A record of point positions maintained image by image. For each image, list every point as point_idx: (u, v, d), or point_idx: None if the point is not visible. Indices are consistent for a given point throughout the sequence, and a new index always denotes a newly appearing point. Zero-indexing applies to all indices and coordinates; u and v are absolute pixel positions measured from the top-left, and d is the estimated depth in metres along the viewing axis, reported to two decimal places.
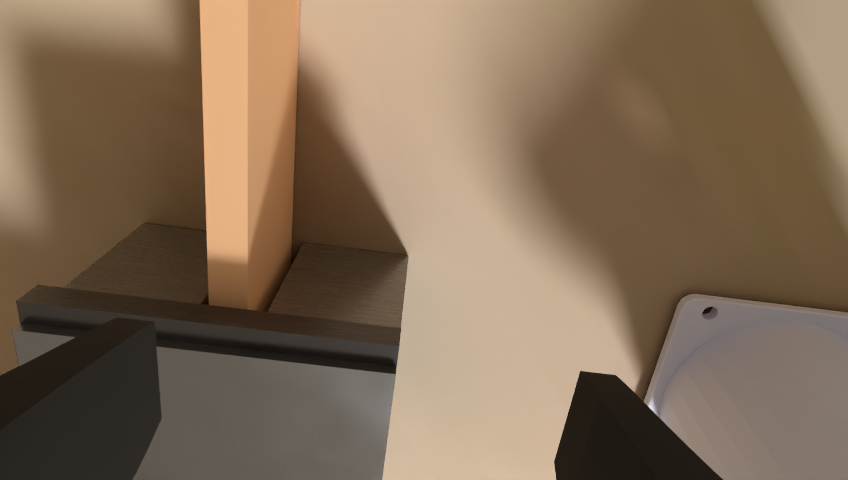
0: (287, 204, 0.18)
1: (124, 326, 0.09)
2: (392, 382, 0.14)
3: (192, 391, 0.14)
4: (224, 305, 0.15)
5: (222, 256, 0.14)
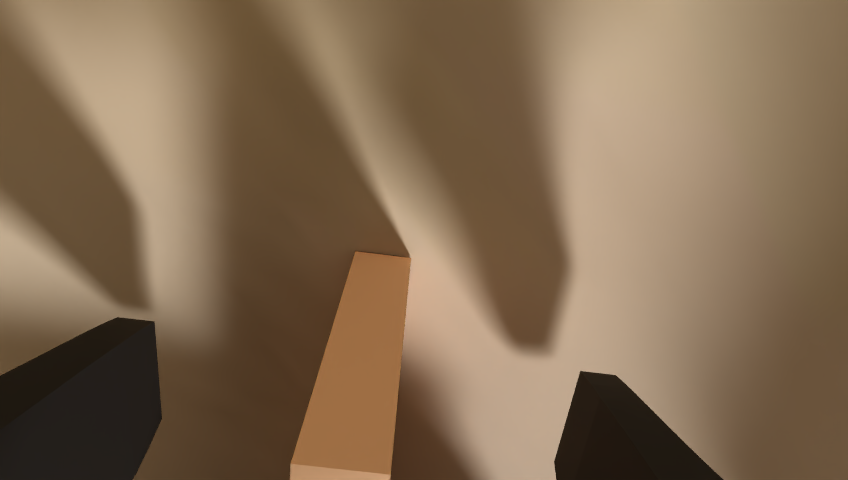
0: None
1: (124, 326, 0.09)
2: None
3: None
4: None
5: None
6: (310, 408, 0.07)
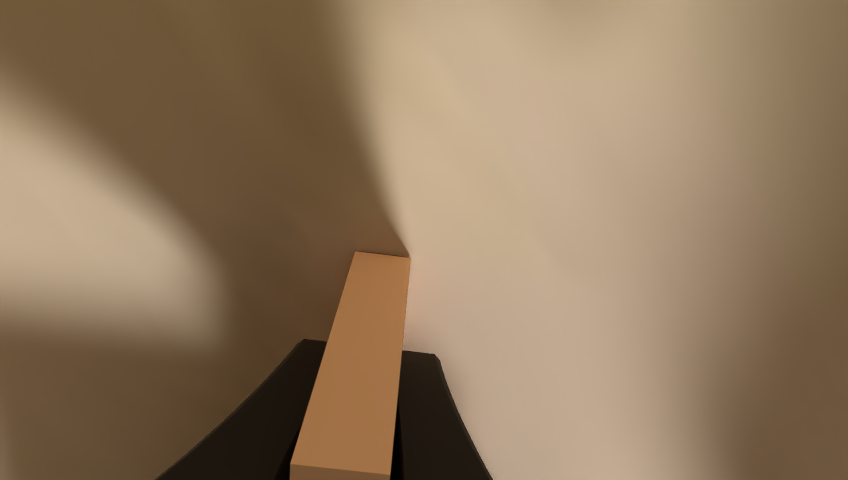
0: None
1: (318, 348, 0.09)
2: None
3: None
4: None
5: None
6: (310, 408, 0.07)
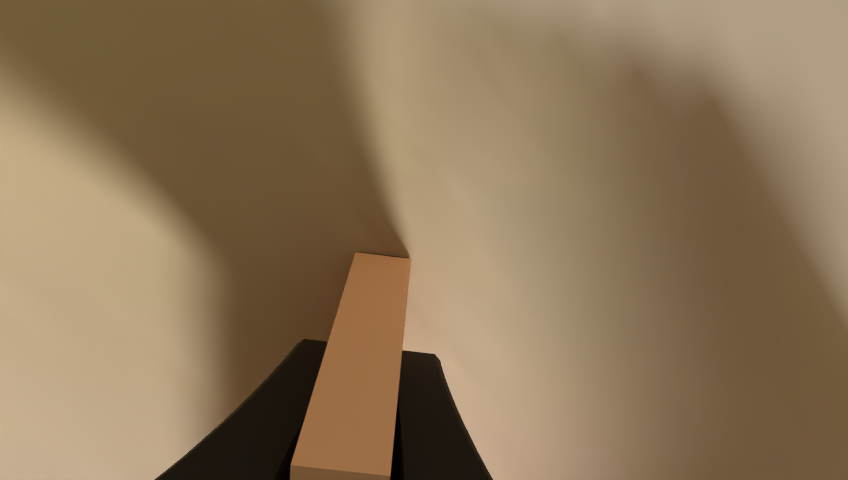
0: None
1: (318, 348, 0.09)
2: None
3: None
4: None
5: None
6: (310, 409, 0.07)
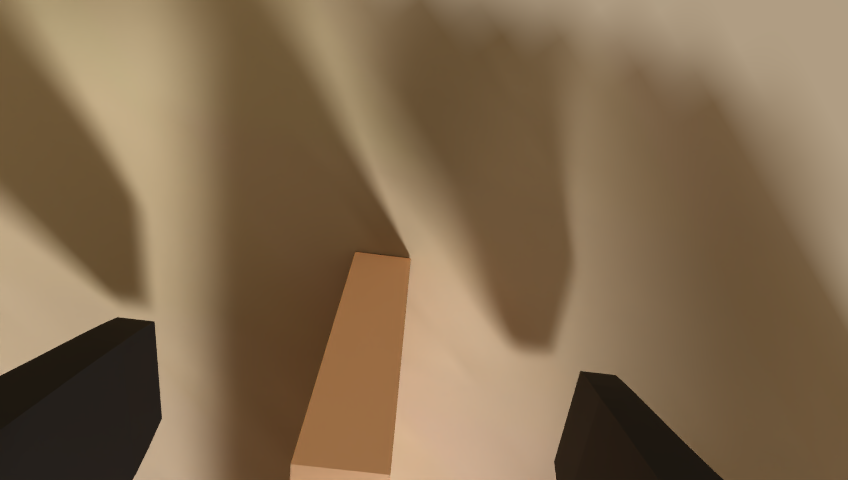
0: None
1: (124, 326, 0.09)
2: None
3: None
4: None
5: None
6: (310, 408, 0.07)
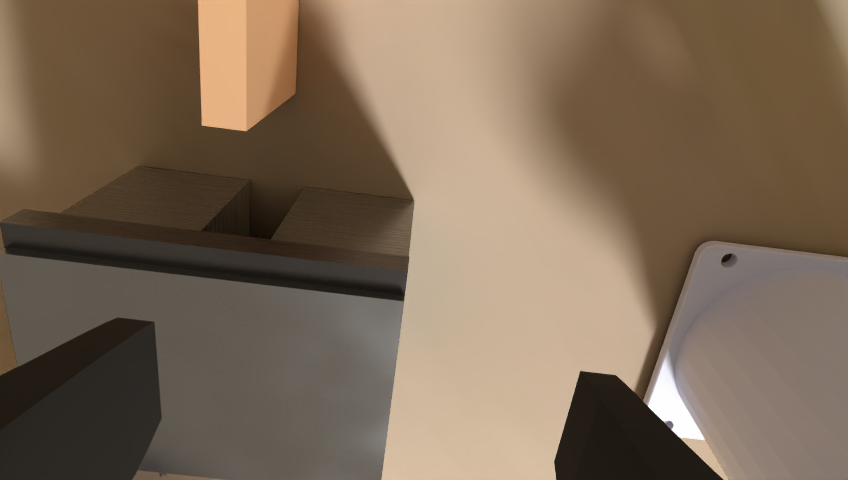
0: None
1: (124, 326, 0.09)
2: (400, 310, 0.13)
3: (188, 321, 0.13)
4: None
5: None
6: None
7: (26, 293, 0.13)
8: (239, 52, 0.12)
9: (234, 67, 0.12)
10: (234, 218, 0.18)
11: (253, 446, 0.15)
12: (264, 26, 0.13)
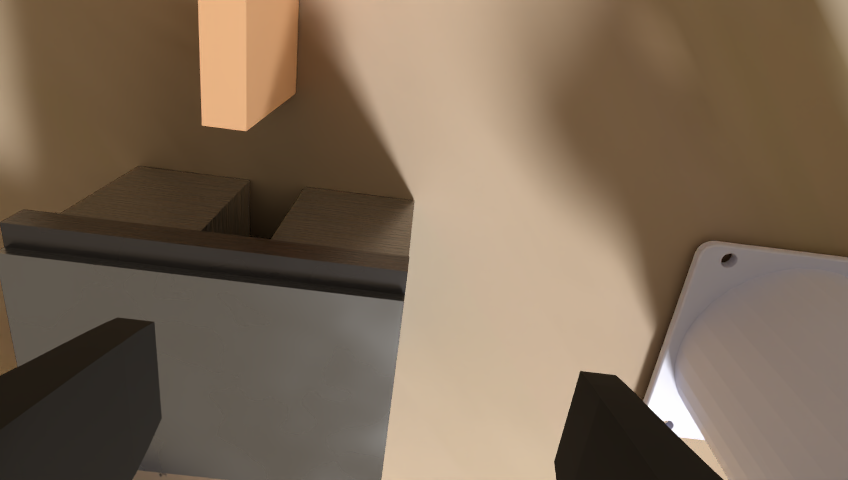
0: None
1: (124, 326, 0.09)
2: (400, 310, 0.13)
3: (188, 321, 0.13)
4: None
5: None
6: None
7: (26, 293, 0.13)
8: (239, 52, 0.12)
9: (234, 67, 0.12)
10: (234, 218, 0.18)
11: (253, 446, 0.15)
12: (264, 26, 0.13)
